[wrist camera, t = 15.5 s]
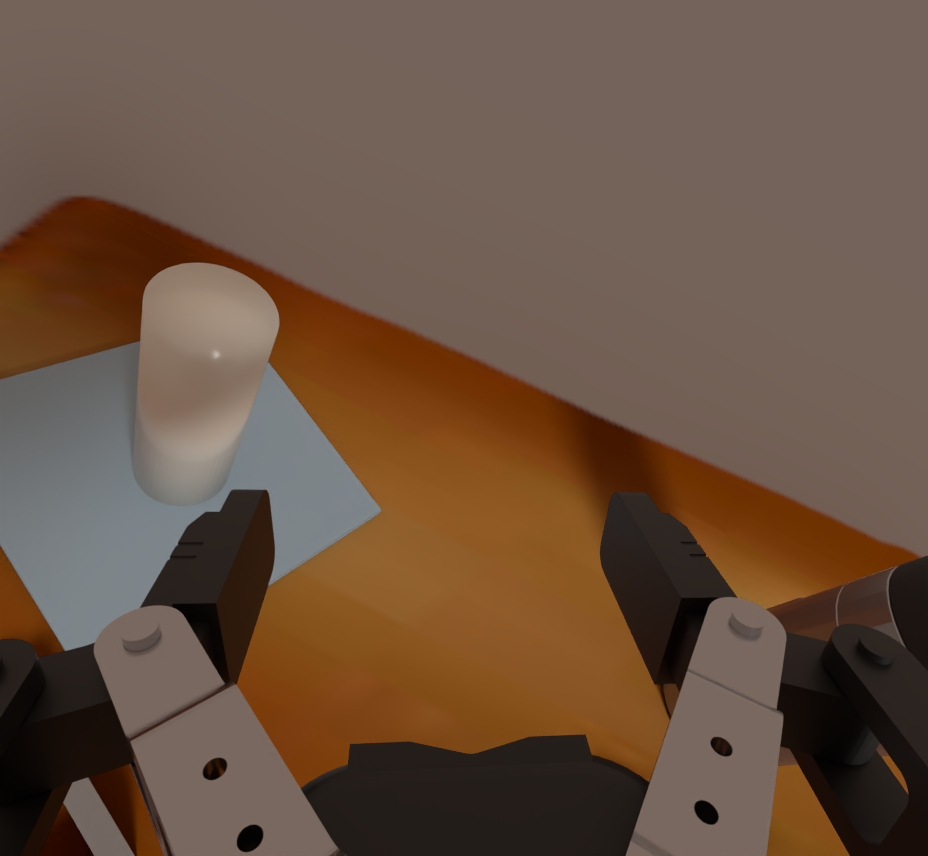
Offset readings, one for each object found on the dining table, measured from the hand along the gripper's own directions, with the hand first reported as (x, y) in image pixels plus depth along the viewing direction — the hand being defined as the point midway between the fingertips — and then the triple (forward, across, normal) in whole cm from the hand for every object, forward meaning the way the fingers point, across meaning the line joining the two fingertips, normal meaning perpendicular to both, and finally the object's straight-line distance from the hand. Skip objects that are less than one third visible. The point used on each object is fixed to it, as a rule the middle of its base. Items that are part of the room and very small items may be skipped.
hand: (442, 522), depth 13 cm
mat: (+20, +15, +11) cm, 27 cm away
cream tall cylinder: (+19, +14, +10) cm, 26 cm away
